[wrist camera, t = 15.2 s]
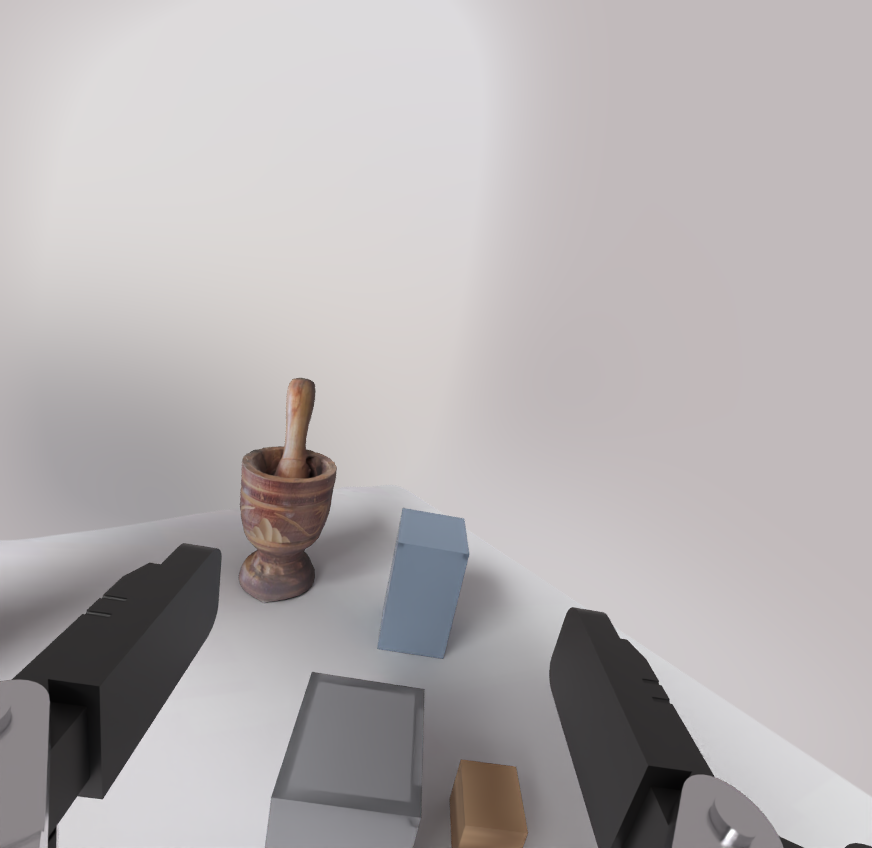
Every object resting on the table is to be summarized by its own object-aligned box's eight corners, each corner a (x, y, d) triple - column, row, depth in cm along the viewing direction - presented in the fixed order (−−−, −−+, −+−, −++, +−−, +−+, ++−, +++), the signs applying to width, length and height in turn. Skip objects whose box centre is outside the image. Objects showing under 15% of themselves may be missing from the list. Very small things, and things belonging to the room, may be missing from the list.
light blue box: (377, 648, 39) (398, 542, 36) (384, 603, 45) (402, 508, 42) (443, 658, 40) (469, 554, 37) (441, 612, 46) (464, 518, 43)
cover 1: (250, 964, 20) (271, 797, 17) (290, 816, 26) (312, 671, 23) (378, 978, 21) (420, 818, 18) (390, 830, 27) (424, 689, 24)
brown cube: (452, 868, 26) (465, 825, 25) (449, 799, 29) (460, 759, 28) (513, 874, 26) (529, 833, 25) (503, 806, 29) (517, 766, 28)
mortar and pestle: (222, 544, 49) (233, 369, 44) (299, 533, 54) (319, 375, 48) (241, 614, 40) (259, 405, 35) (332, 594, 45) (361, 408, 39)
